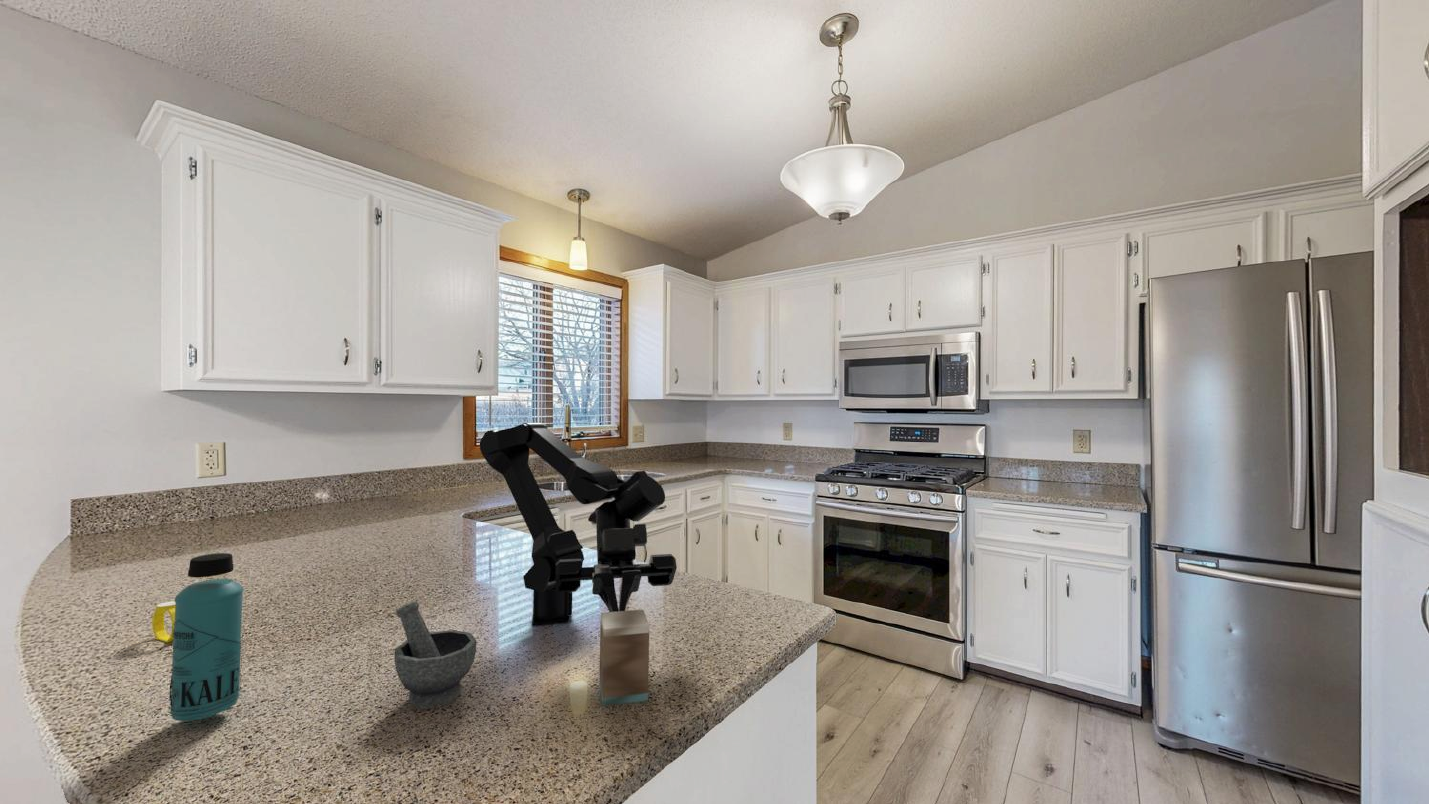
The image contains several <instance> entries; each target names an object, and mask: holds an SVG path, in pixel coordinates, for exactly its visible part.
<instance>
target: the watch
mask: <svg viewBox="0 0 1429 804" xmlns="http://www.w3.org/2000/svg"><path fill="white" fill-rule="evenodd" d="M166 611H167V613H168V614H169V617H170V620H171V633H170V635H169V634H168V633H167V631H166V628H165V622H164V621H165V614H166ZM174 622H175V600H174V601H173V600H172V601H166V602H162V603H160V604H157V605H156V607H155V610H154V613H153V616H152V623H151V626H152V631H153V632H152V633H153V634H154V636H155V639H156V640H157V641H161V642H165V643H167V644H169V643H171V642H172V643H173V637H172V633H173V636H174V630H173V629H174V625H173V624H174ZM172 628H173V629H172Z"/></svg>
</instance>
